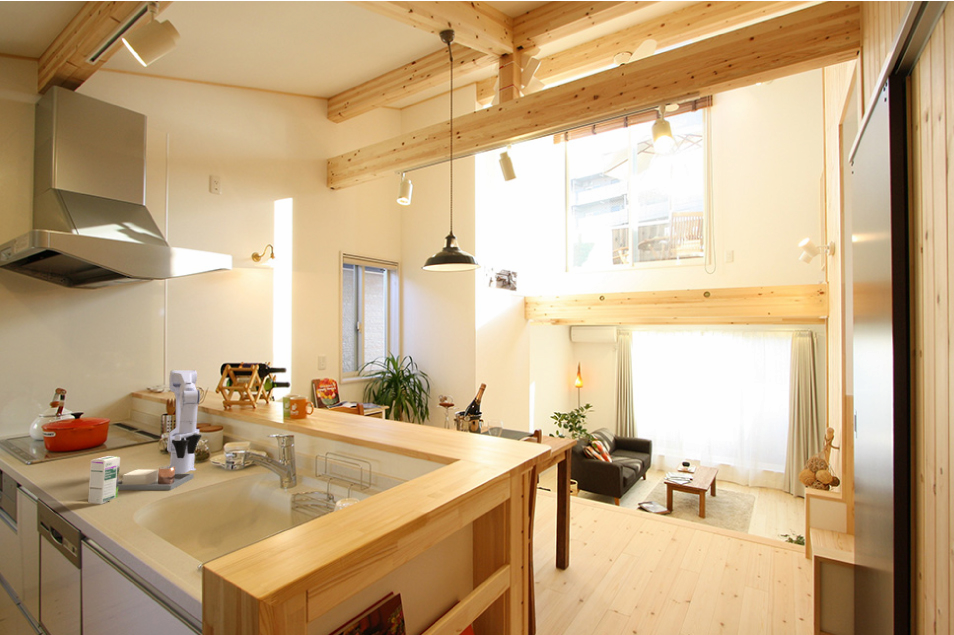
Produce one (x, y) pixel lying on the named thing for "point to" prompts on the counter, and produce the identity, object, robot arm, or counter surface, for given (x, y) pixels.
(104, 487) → the syrup box
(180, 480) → the tray
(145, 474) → the plain cream box
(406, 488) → the counter surface
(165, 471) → the tin can
